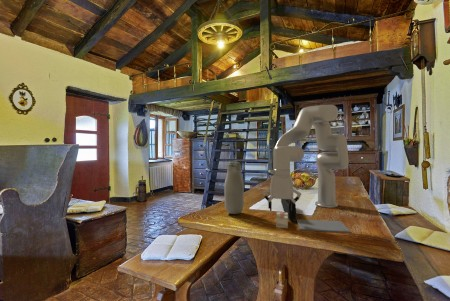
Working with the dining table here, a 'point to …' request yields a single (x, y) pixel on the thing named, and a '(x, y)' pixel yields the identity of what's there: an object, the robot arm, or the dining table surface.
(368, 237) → the dining table surface
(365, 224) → the dining table surface
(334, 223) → the mat
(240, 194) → the glass bottle
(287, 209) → the magazine
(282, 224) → the card box
